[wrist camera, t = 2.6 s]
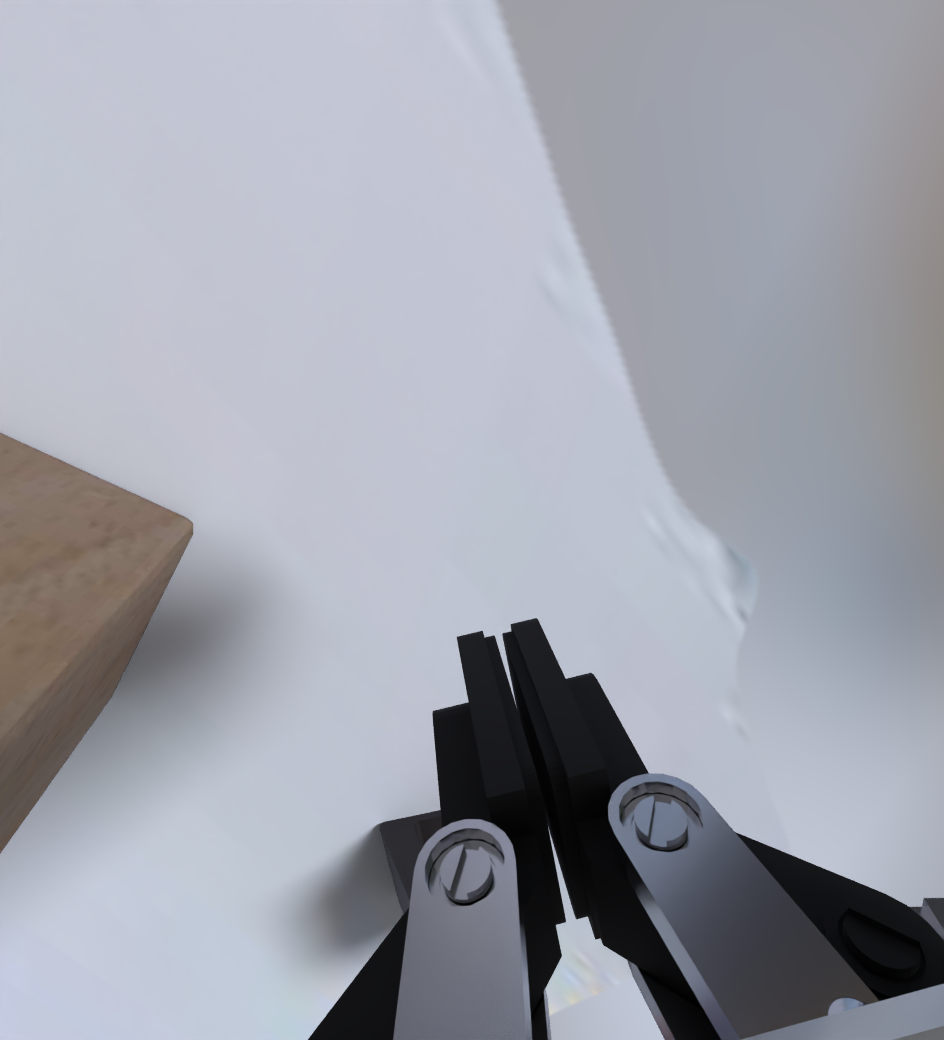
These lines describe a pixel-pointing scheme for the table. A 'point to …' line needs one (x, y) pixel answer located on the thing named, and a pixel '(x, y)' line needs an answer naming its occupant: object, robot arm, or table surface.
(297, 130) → the table surface
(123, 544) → the wooden block
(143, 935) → the table surface
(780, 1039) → the robot arm
